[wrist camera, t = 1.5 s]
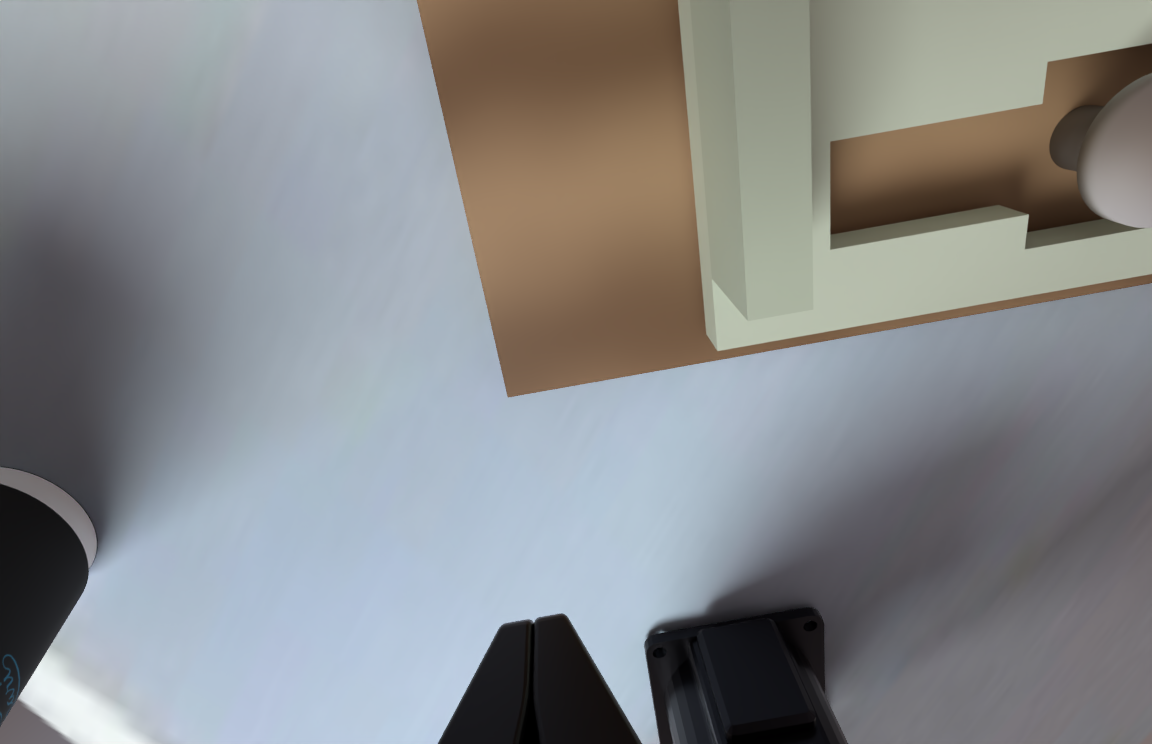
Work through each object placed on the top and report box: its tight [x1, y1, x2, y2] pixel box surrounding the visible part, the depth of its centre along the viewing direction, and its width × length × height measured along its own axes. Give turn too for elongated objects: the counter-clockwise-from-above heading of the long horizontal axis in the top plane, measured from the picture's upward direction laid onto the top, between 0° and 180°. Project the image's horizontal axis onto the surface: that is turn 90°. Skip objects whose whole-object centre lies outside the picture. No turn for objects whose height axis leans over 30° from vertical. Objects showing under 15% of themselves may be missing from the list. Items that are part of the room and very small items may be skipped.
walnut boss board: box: [417, 0, 1152, 397], centre depth 16 cm, size 16×26×4 cm, turn 99°
